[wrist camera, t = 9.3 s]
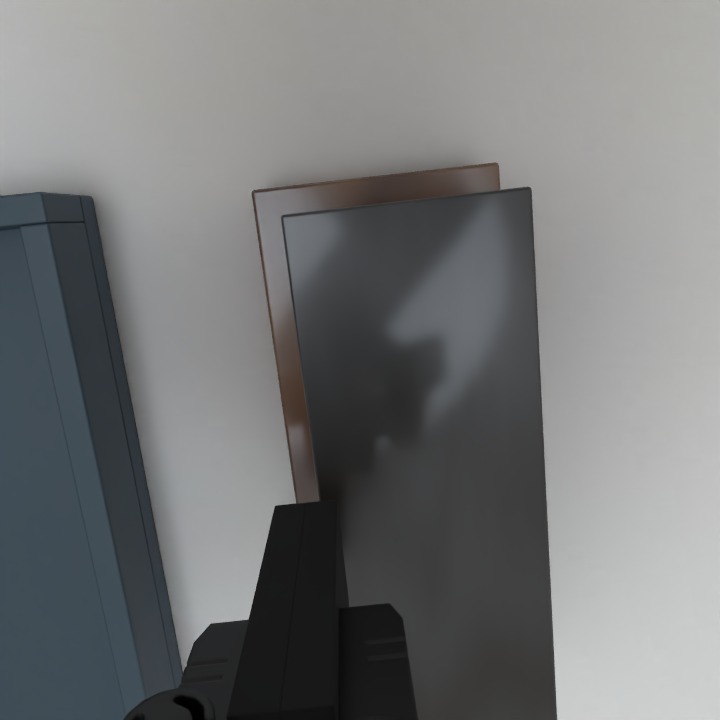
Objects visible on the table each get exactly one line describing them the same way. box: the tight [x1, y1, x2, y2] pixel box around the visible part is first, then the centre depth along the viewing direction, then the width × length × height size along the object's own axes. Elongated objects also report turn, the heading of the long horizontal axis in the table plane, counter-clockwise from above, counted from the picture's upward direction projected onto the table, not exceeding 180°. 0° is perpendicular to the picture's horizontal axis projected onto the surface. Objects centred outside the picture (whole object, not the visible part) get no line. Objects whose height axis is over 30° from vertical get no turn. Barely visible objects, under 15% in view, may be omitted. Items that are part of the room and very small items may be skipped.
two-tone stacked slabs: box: [252, 163, 557, 720], centre depth 19 cm, size 18×6×7 cm
